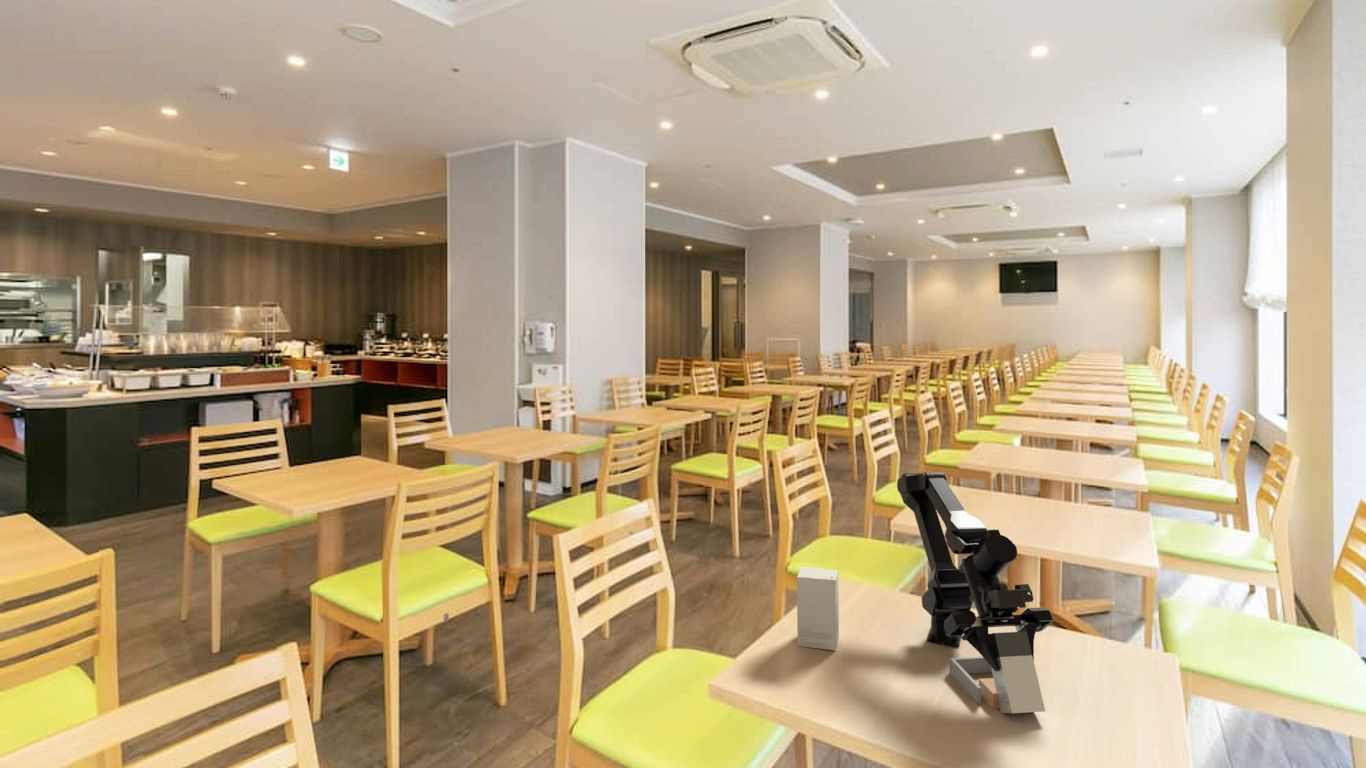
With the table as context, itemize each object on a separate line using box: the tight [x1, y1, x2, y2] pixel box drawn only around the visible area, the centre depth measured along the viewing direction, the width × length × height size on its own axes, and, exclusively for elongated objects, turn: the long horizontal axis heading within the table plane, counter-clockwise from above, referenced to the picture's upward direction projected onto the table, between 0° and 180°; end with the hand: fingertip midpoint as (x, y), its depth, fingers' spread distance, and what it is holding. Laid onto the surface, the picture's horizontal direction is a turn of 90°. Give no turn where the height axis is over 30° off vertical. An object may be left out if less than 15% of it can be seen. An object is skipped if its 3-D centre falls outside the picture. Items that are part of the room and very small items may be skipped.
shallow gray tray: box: [949, 655, 992, 705], centre depth 132 cm, size 11×11×3 cm
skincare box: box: [796, 565, 840, 651], centre depth 148 cm, size 8×7×16 cm
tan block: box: [978, 677, 1000, 709], centre depth 127 cm, size 5×7×3 cm
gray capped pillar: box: [988, 631, 1046, 714], centre depth 124 cm, size 4×6×13 cm, turn 95°
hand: (1014, 669), depth 124 cm, fingers closed on gray capped pillar, 6 cm apart
